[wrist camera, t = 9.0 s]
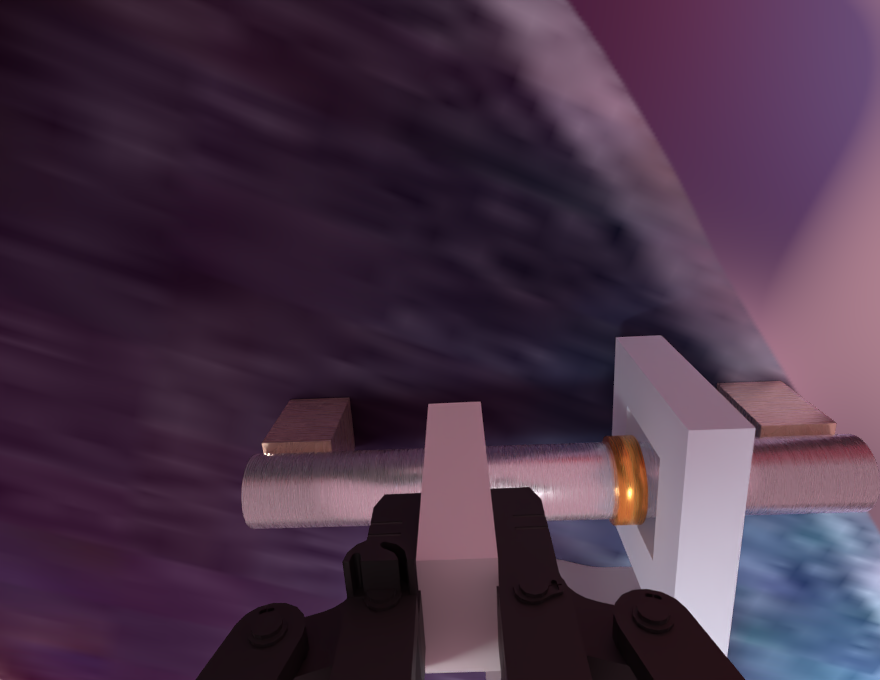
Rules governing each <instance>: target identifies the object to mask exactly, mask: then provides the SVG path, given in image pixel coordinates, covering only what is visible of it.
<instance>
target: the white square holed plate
mask: <svg viewBox="0 0 880 680" xmlns="http://www.w3.org/2000/svg"><path fill="white" fill-rule="evenodd" d="M755 430H756V428H755V427H754V426H753V425H752V424H751V423H750V422H749V421H748V420H747V419H746V418H745V417H744V416H743V415H742V414H741V413H740V412H739V411H738V410H737V409H736V408H735V407H734V406H733V405H732V404H731V403H730V402H729V401H728V400H727V399H726V398H725V397H724V396H723V395H721V394H720V393H719V392H718V391H717V390H716V389H715V388H714V387H713V386H712V385H711V384H710V383H709V382H708V381H707V380H706V379H705V378H704V377H703V376H702V375H701V374H700V373H699V372H698V371H697V370H696V369H695V368H694V367H693V366H692V365H691V364H690V363H689V362H688V361H687V360H686V359H685V358H684V357H683V356H682V355H681V354H680V353H679V352H678V351H677V350H676V349H675V348H674V347H673V346H672V345H671V344H670V343H669V342H668V341H667V340H666V339H664V338H663V337H662V336H661V335H656V336H632V337H616V347H615V372H614V397H613V422H612V436H617V435H633V436H634V437H635V438H636V439H637V441H649V442H650V443H651V445H652V446H653V448H654V450H655V451H656V453H657V454H658V456H659V458H660V467H659V481H658V495H657V510H656V518H646V519H645V521H644V523H643V524H642V525H616V527H617V530H618V532H619V535H620V537H621V540H622V543H623V545H624V548H625V550H626V553H627V555H628V558H629V560H630V563H631V565H632V568H633V570H634V573H635V575H636V578H637V580H638V583H639V585H640V588H641V589H650V590H655V591H660V592H663V593H665V594H667V595H669V596H671V597H673V598H675V599H677V600H678V601H679V602H680V603H681V604H682V605H683V606H685V607H686V608H687V609H688V611H689V612H690V613H691V614H692V615H693V617H694V618H695V619H696V620H697V621H698V623H699V624H700V625H701V626H702V628H703V629H704V630H705V631H706V632H707V634H708V635H709V636H710V637H711V638H712V640H713V641H714V642H715V643H716V645H717V646H718V647H719V648H720V649H721V651H722V652H723V653H724V654H725V656H726V657H727V653H728V645H729V637H730V629H731V621H732V613H733V605H734V597H735V589H736V581H737V574H738V566H739V558H740V550H741V542H742V534H743V526H744V518H745V510H746V502H747V494H748V486H749V478H750V470H751V462H752V454H753V446H754V438H755Z"/></svg>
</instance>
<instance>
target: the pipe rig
mask: <svg viewBox="0 0 880 680" xmlns="http://www.w3.org/2000/svg"><path fill="white" fill-rule="evenodd" d="M717 391H718V392H719V393H720V394H721V395H723V396H724V397H725V398H726V399H727V400H728V401H729V402H730V403H731V404H732V405H733V406H734V407H735V408H736V409H737V410H738V411H739V412H740V413H741V414H742V415H743V416H744V417H745V418H746V419H747V420H748V421H749V422H750V423H751V424H752V425H753V426H754V427H755V428H756V430H755V438H754V446H753V454H752V462H751V470H750V478H749V486H748V494H747V502H746V510H745V515H773V514H810V513H846V512H866V511H869V510H870V509H872V508H873V507H874V505H875V504H876V502H877V500H878V497H879V492H880V476H879V470H878V466H877V463H876V460H875V458H874V456H873V454H872V452H871V451H870V449H869V447H868V446H867V445H866V443H865V442H863V440H861V439H860V438H859V437H857V436H855V435H852V434H835V429H836V422H834V421H833V420H832V419H830V418H829V417H828V416H826V415H825V414H824V413H823V412H821V411H820V410H819V409H817V408H816V407H814V406H813V405H812V404H811V403H809V402H808V401H807V400H805V399H804V398H803V397H801V396H800V395H799V394H797V393H796V392H795V391H793V390H792V389H791V388H790V387H788V386H787V385H786V384H784V383H783V382H782V381H764V382H738V383H717ZM262 447H263V453H264V454H254V455H253V456H252V457H251V458H250V459H249V461H248V463H247V465H246V468H245V472H244V476H243V482H242V510H243V515H244V519H245V521H246V523H247V525H248V526H249V527H250V528H252V529H263V528H299V527H336V526H370V525H371V518H372V513H373V508H374V506H375V505H376V504H377V503H378V502H379V500H380V499H381V498H382V497H383V496H384V494H404V493H421V491H422V478H423V466H424V453H425V448H418V449H388V450H359V451H354V449H355V441H354V433H353V424H352V415H351V407H350V398H349V397H347V398H321V399H295V400H290V401H289V402H288V404H287V406H286V407H285V409H284V410H283V412H282V413H281V415H280V416H279V418H278V419H277V421H276V422H275V424H274V425H273V427H272V428H271V430H270V431H269V433H268V434H267V436H266V438H265V439H264V441H263V442H262ZM486 455H487V464H488V473H489V482H490V489H493V488H519V487H530V488H531V489H532V490H533V491H534V492H535V493H536V494H537V495H538V496H539V497H540V498H541V500H542V504H543V508H544V512H545V517H546V520H547V521H554V520H591V519H609V520H610V522H611V523H612V524H613V525H642V524H643V523H644V521H645V519H646V518H656V510H657V495H658V481H659V467H660V458H659V456H658V454H657V453H656V451H655V450H654V448H653V446H652V445H651V443H650V442H649V441H637V439H636V438H635V437H634V436H633V435H617V436H605V437H604V438H603V441H602V442H595V443H565V444H536V445H506V446H486Z"/></svg>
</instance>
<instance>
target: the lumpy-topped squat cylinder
mask: <svg viewBox="0 0 880 680" xmlns="http://www.w3.org/2000/svg"><path fill="white" fill-rule="evenodd" d="M556 561H557V565H558V569H559V573H560V575H561V577H562V578H563V579H564V580H565V582H566V584H567V586H568V587H569V588H571V589H572V590H573V591H574V592H576V593H578V594H580V595H581V596H583V597H585V598H588V599H592V600H595V601H599V602H603V603H608V604H612V605H615V602H616V601H617V600H618V598H619V597H620V596H621V595H622V594H624V593H626V592H629V591H631V590H636V589H641V588H640V585H639V583H638V580H637V578H636V575H635V573H634V570H633V568H632V567H591V566H585V565H580V564H576V563H572V562H568V561H563V560H558V559H556ZM486 680H501V671H486Z"/></svg>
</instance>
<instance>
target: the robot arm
mask: <svg viewBox="0 0 880 680" xmlns="http://www.w3.org/2000/svg"><path fill="white" fill-rule="evenodd" d="M342 563H343V570H344V577H345V584H346V592H347V599H346V600H345V601H344V602H343V603H341V604H339V605H338V606H336V607H334V608H332V609H329V610H327V611H324V612H321V613H318V614H314V615H311V616H307V617H304V614H303V613H302V612H301V611H300V610H299V609H298V608H297V607H295V606H292V605H290V604H287V603H272V604H268V605H265V606H261V607H258V608H256V609H255V610H253V611H251V612H249V613H248V614H246V615H245V616H244V617H243V618H242V619H241V620H240V621H239V622H238V623H237V624H236V625H235V626H234V628H233V629H232V630H231V632H230V633H229V635H228V636H227V637H226V639H225V640H224V641H223V643H222V644H221V646H220V647H219V648H218V650H217V651H216V652H215V654H214V655H213V657H212V658H211V659H210V661H209V662H208V663H207V665H206V666H205V668H204V669H203V670H202V672H201V673H200V674H199V676H198V677H197V679H196V680H424V675H425V671H426V673H448V672H482V671H501V680H745V679H744V677H743V676H742V675H741V674H740V673H739V671H738V670H737V669H736V668H735V666H734V665H733V664H732V663H731V662H730V660H729V659H728V658H727V657H726V656H725V654H724V653H723V652H722V651H721V649H720V648H719V647H718V646H717V645H716V643H715V642H714V641H713V640H712V638H711V637H710V636H709V635H708V634H707V632H706V631H705V630H704V629H703V628H702V626H701V625H700V624H699V623H698V621H697V620H696V619H695V618H694V617H693V615H692V614H691V613H690V612H689V611H688V609H687V608H686V607H685V606H683V605H682V604H681V603H680V602H679V601H678V600H677V599H675V598H673V597H671V596H669V595H667V594H665V593H663V592H660V591H655V590H650V589H636V590H631V591H629V592H626V593H624V594H622V595H621V596H620V597H619V598H618V600H617V601H616V602H615V605H612V604H608V603H603V602H599V601H595V600H592V599H588V598H585V597H583V596H581V595H580V594H578V593H576V592H574V591H573V590H572V589H571V588H569V587H568V586H567V584H566V582H565V580H564V579H563V578H562V577H561V575H560V573H559V569H558V565H557V561H556V557H555V553H554V549H553V545H552V541H551V537H550V532H549V529H548V524H547V520H546V517H545V512H544V508H543V504H542V500H541V498H540V497H539V496H538V495H537V494H536V493H535V492H534V491H533V490H532V489H531V488H530V487H519V488H493V489H490V482H489V473H488V464H487V455H486V446H485V437H484V428H483V418H482V409H481V402H459V403H437V404H428V415H427V428H426V441H425V453H424V466H423V478H422V491H421V493H404V494H384V496H383V497H382V498H381V499H380V500H379V502H378V503H377V504H376V505H375V506H374V508H373V513H372V518H371V525H370V527H369V532H368V537H367V540H366V541H364V542H362V543H360V544H357V545H356V546H355V547H353V548H352V549H351V550H350V551H349V552H347V554H346V556H345V558H344V560H343V562H342Z"/></svg>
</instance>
